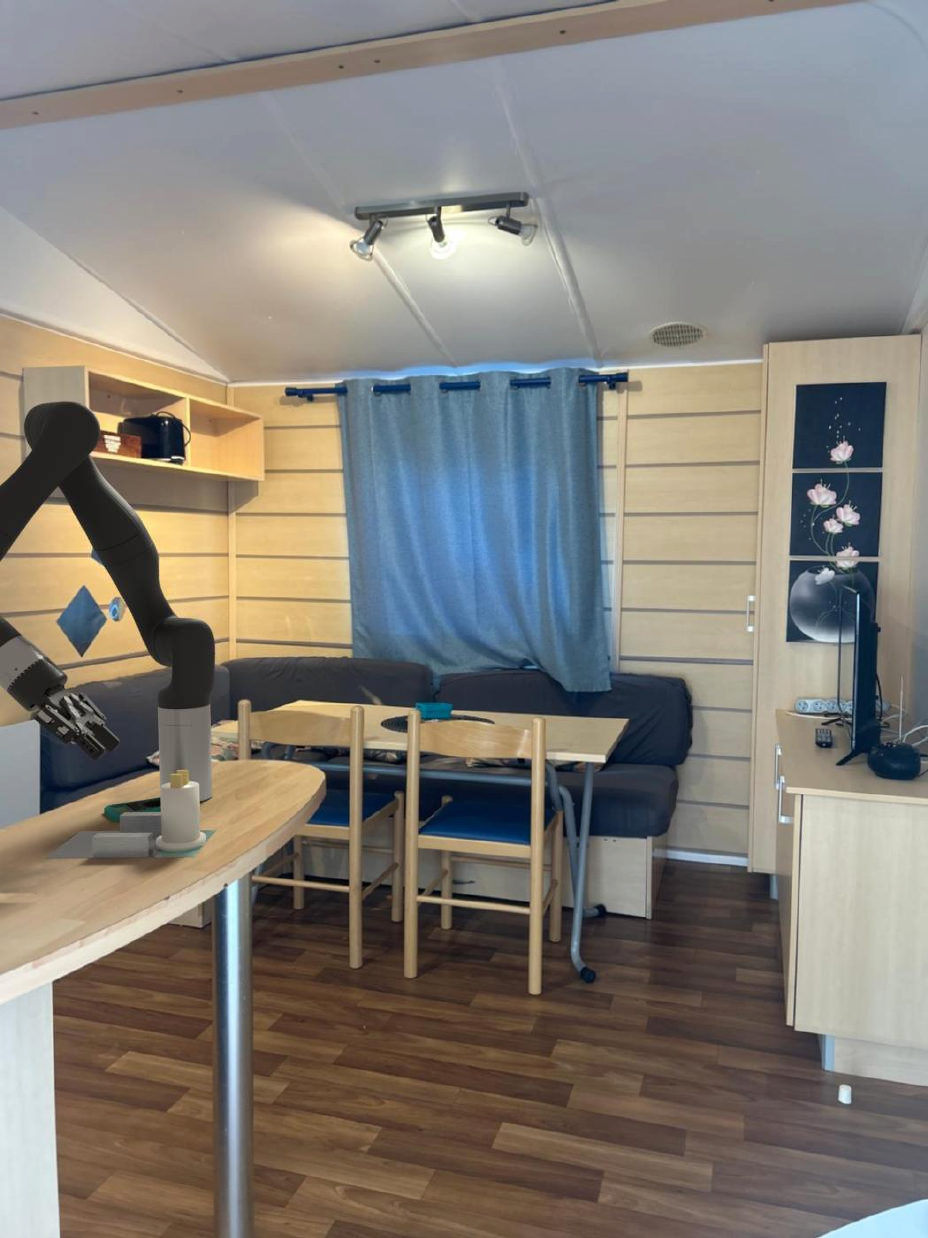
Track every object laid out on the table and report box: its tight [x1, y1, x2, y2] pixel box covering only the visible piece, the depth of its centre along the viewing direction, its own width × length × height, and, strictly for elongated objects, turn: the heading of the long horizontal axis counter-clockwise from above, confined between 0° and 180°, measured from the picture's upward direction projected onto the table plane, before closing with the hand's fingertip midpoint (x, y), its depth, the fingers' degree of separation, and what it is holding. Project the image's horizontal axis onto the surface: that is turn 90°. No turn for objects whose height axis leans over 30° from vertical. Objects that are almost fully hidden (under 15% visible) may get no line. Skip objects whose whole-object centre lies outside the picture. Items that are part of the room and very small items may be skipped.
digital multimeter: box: [103, 796, 161, 823], centre depth 158 cm, size 7×15×3 cm, turn 127°
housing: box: [44, 812, 217, 859], centre depth 140 cm, size 13×22×4 cm, turn 91°
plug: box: [156, 770, 207, 852], centre depth 139 cm, size 7×7×11 cm
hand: (108, 751), depth 139 cm, fingers open, 5 cm apart
